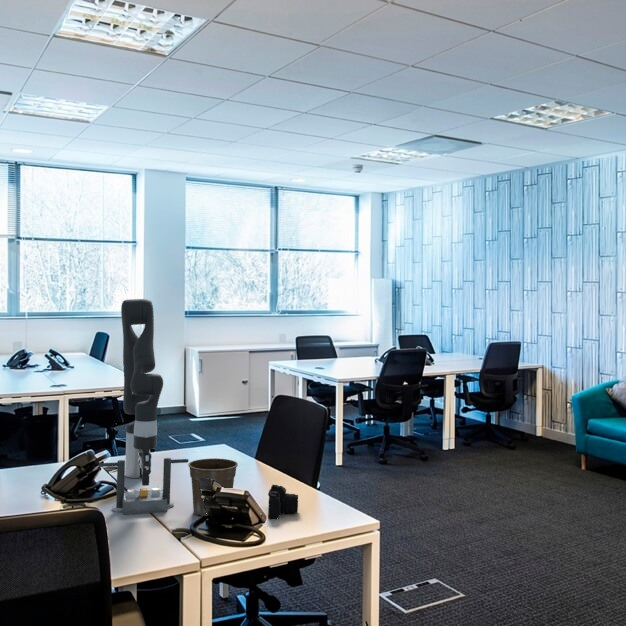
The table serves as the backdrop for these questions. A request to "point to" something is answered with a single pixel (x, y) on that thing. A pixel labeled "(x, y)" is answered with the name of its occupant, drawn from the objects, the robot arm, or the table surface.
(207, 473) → the plant pot
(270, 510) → the film camera
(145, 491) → the orange matte cube
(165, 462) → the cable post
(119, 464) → the cable post
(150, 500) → the grey block holder
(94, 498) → the table surface
